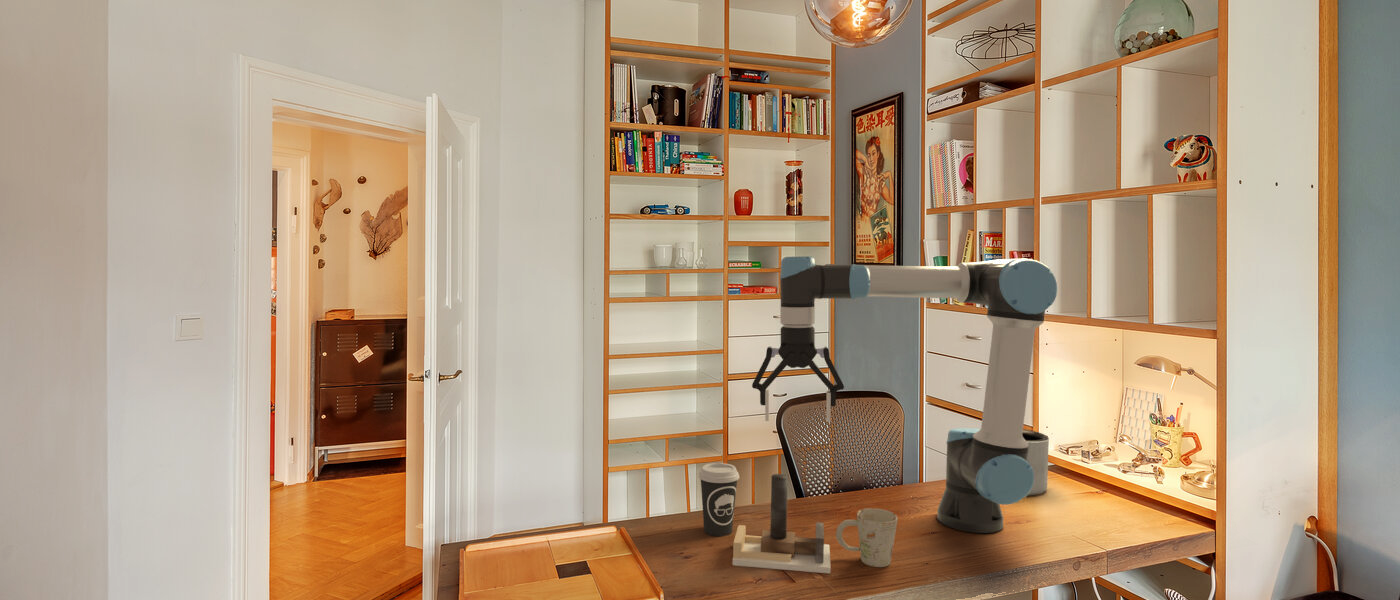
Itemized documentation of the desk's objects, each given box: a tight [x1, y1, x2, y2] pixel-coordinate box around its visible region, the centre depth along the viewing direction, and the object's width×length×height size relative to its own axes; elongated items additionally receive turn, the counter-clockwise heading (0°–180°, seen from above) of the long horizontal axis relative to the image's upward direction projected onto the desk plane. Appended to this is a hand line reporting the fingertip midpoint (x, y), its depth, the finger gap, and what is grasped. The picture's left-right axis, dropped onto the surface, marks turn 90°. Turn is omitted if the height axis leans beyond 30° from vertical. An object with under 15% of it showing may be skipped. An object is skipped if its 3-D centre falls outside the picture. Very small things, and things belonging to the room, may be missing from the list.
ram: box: [761, 473, 825, 563], centre depth 149 cm, size 13×9×16 cm
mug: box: [835, 507, 898, 568], centre depth 149 cm, size 8×13×10 cm, turn 78°
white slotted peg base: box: [732, 524, 832, 574], centre depth 150 cm, size 20×12×4 cm, turn 81°
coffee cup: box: [698, 462, 740, 537], centre depth 164 cm, size 10×10×15 cm
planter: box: [1022, 428, 1050, 496], centre depth 199 cm, size 16×16×16 cm
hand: (797, 420), depth 157 cm, fingers open, 13 cm apart
